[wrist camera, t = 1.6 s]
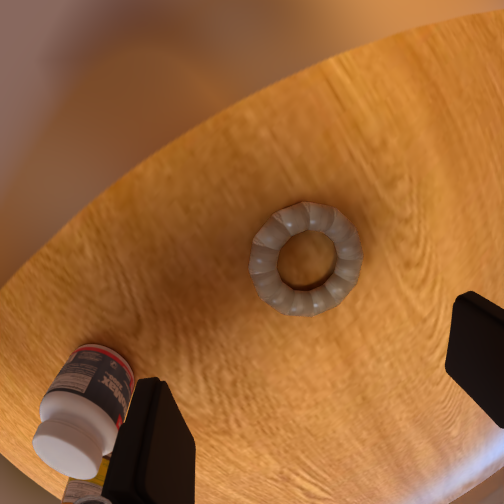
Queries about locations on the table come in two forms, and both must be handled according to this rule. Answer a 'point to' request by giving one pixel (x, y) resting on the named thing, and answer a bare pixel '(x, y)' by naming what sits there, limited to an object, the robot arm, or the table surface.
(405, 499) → the table surface
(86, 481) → the supplement bottle
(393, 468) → the table surface
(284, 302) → the ring
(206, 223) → the table surface
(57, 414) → the pill bottle
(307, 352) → the table surface
